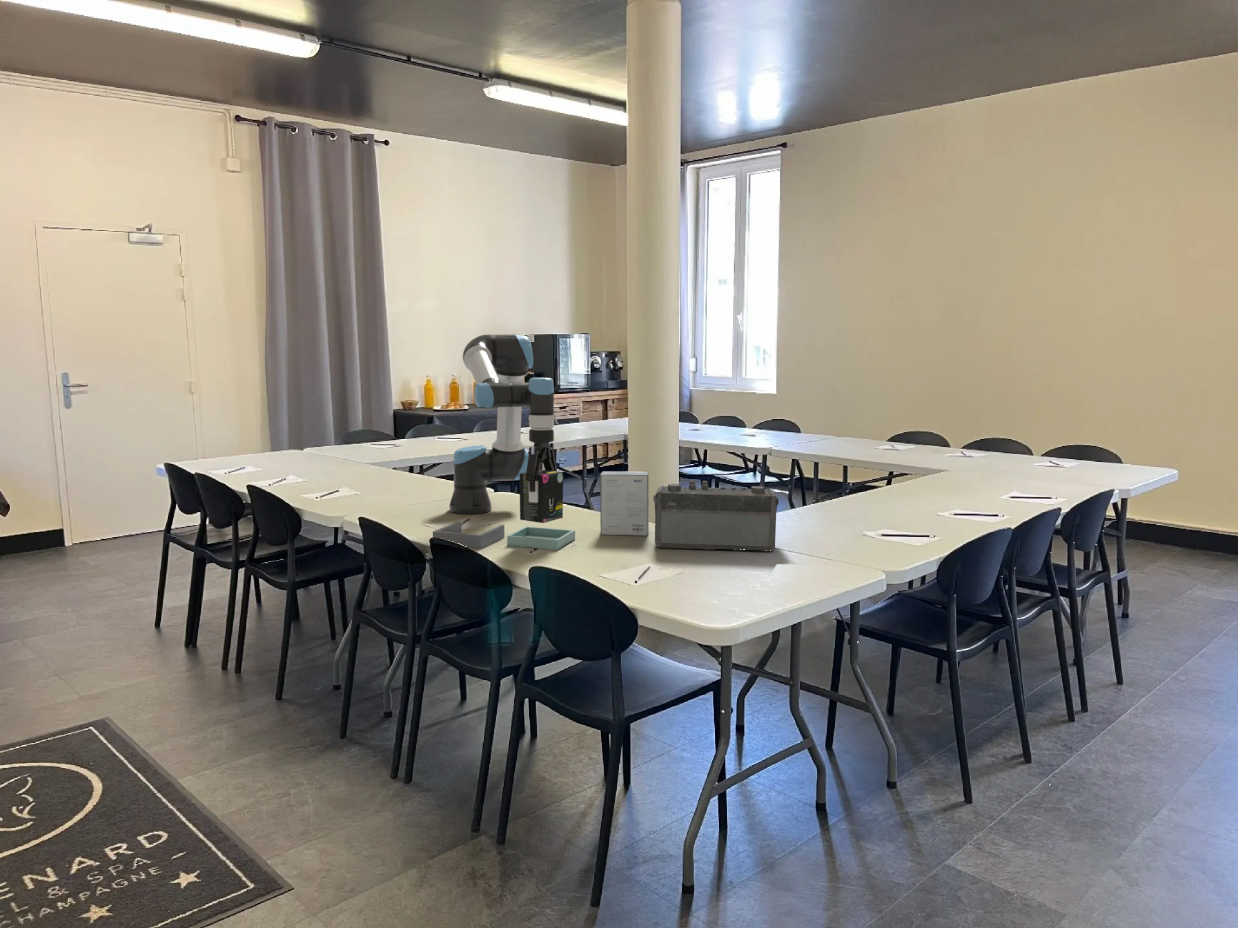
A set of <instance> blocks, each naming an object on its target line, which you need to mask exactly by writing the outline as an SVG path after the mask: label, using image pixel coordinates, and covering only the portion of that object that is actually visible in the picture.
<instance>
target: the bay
mask: <svg viewBox="0 0 1238 928" xmlns="http://www.w3.org/2000/svg"><path fill="white" fill-rule="evenodd" d="M505 534H506V533H505V525H504V524H499V525H498V526H495V527H493V528H490V529H489V530H487V531H485V532H482V533H480V534H475V533H468V532H467V533H465V532H464V533H463V532H462V521H456V522H453V523H450V524H448V525H446V526H443V527H440V528H437V529H435V530H433V531H432V538H433V537H437V538H443V539H445V540H450V541H454V542H456V543H460V544H462V545H464V546H467V547H466V548H468V547H470V549H479V550H481V549H484V548H486V547H488V546H490V545H492V544H494V543H496V542H498V541H500V540H502V539H504V538H505V537H506V535H505Z"/></svg>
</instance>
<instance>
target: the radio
mask: <svg viewBox="0 0 1238 928" xmlns="http://www.w3.org/2000/svg"><path fill="white" fill-rule="evenodd" d="M652 499H653V502H654V513H655V514H654V515H655V516H654V517H655V519H654V523H655V524H654V544H655V546H656V548H660V549H686V550H688V549H690V550H692V549H693V550H715V549H736V550H735V551H743V549H745V550H767V551H766V552H769V551H770V550H773V549H774V550H775V547H776V535H777V534H776V529H777V511H778V506H779V502H780V501H779V498H778V497H777V496H776V493H775V491H774V489H773V488H766V489H765V486H759V485H758V486H757V485H754V486H751V488H747V487H743V486H742V487H741V488H737V487H735V486H733V487H731V488H729V487H726V486H721V487H709V483H708V481H707V480H702V482H701V486H700V487H698V486H697V487H696V481H695V480H689V485H688V486H682V484H679V483H669V484H667V486H665V485H660V486H658V488H657V490H656V493H654V495H653V498H652ZM740 549H741V550H740ZM774 550H773V551H774Z"/></svg>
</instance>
